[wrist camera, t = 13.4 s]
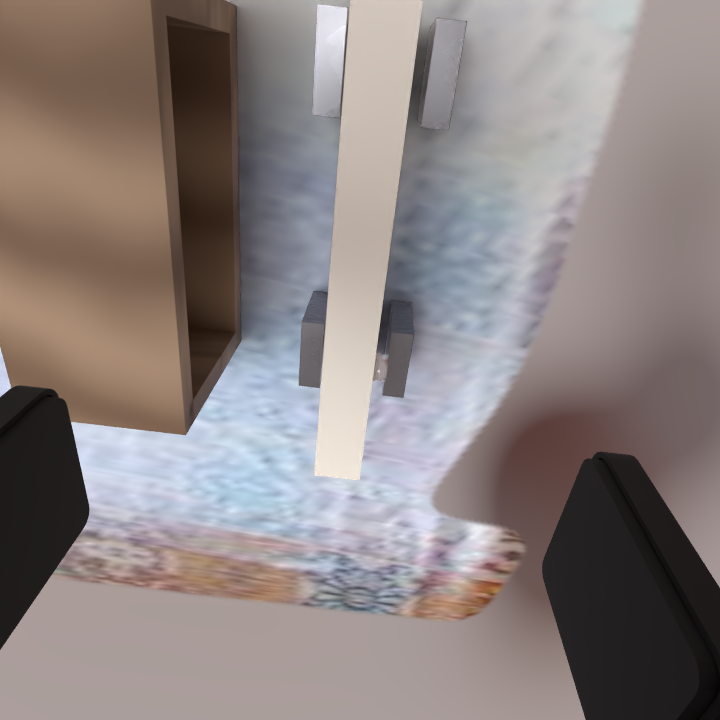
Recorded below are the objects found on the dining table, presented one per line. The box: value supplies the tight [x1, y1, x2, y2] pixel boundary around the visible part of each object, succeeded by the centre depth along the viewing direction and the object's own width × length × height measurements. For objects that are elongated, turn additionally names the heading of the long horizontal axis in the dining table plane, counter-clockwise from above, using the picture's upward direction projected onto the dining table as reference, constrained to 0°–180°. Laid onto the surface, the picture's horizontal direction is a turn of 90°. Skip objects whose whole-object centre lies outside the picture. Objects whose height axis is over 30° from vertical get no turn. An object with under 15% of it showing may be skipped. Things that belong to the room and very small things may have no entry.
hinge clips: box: [299, 4, 467, 398], centre depth 27 cm, size 18×6×4 cm, turn 174°
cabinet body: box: [0, 0, 241, 435], centre depth 24 cm, size 18×8×10 cm, turn 174°
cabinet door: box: [314, 0, 423, 480], centre depth 23 cm, size 18×3×12 cm, turn 174°
